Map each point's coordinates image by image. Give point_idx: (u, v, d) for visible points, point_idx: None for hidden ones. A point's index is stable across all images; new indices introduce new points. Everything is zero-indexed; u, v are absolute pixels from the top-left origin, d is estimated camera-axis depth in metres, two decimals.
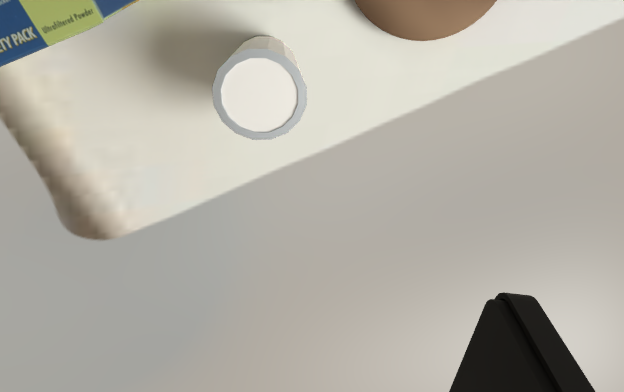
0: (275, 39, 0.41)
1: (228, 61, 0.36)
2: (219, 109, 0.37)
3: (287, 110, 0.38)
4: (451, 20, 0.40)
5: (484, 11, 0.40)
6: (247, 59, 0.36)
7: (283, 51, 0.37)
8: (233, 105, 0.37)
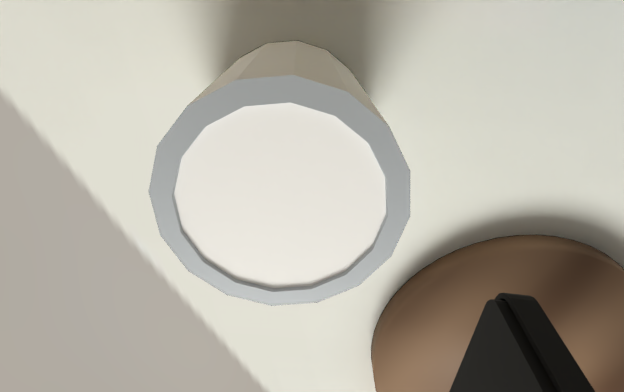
0: None
1: (375, 121, 0.12)
2: (225, 98, 0.12)
3: (250, 268, 0.14)
4: None
5: None
6: (382, 171, 0.13)
7: None
8: (244, 137, 0.13)
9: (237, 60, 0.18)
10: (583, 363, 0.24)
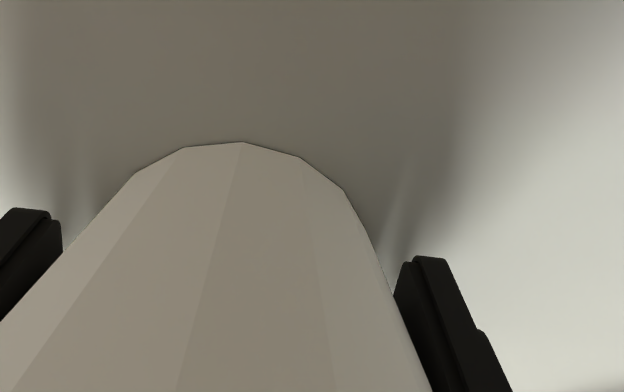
0: None
1: None
2: None
3: None
4: None
5: None
6: None
7: None
8: None
9: (124, 185, 0.09)
10: None
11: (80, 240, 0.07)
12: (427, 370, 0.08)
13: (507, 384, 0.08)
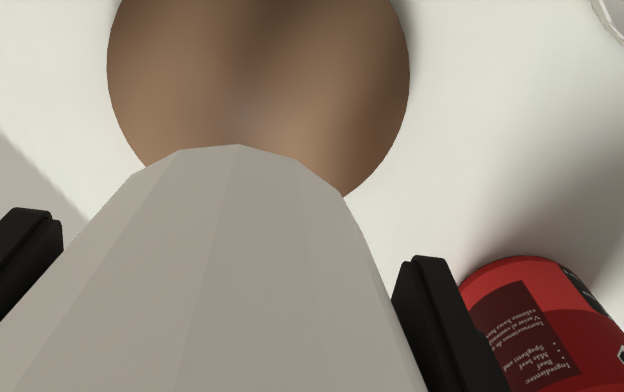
0: None
1: None
2: None
3: None
4: (159, 149, 0.23)
5: None
6: None
7: None
8: None
9: (120, 188, 0.09)
10: (335, 86, 0.22)
11: (76, 243, 0.07)
12: (426, 370, 0.08)
13: (506, 384, 0.08)
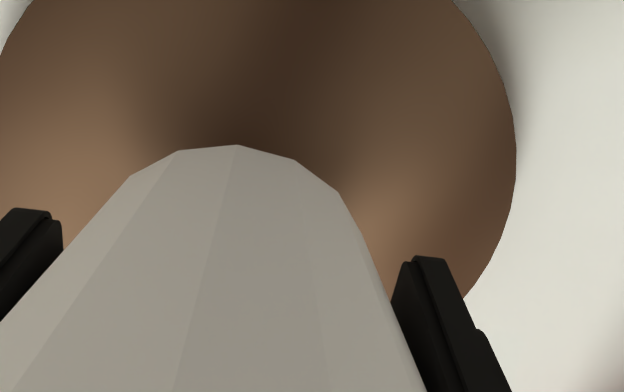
0: None
1: None
2: None
3: None
4: None
5: None
6: None
7: None
8: None
9: (119, 189, 0.09)
10: (384, 196, 0.13)
11: (75, 244, 0.07)
12: (426, 370, 0.08)
13: (506, 384, 0.08)
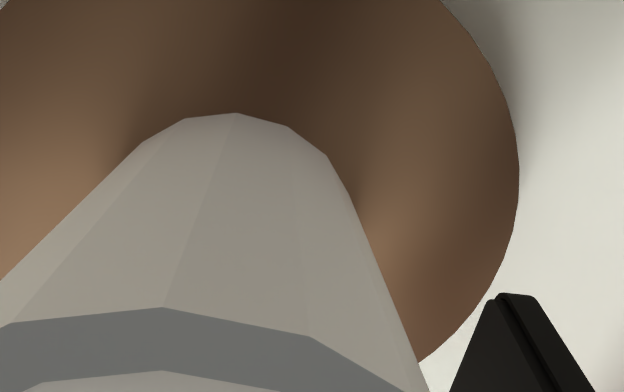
0: None
1: None
2: None
3: None
4: None
5: None
6: None
7: None
8: None
9: (133, 151, 0.10)
10: (379, 219, 0.12)
11: (97, 189, 0.08)
12: None
13: None
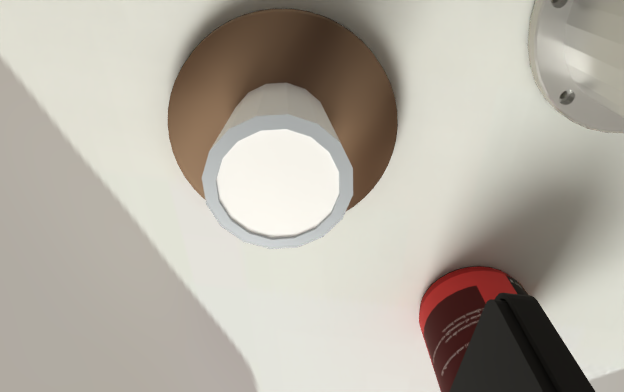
0: None
1: (332, 140, 0.22)
2: (250, 125, 0.22)
3: (258, 224, 0.24)
4: (201, 170, 0.30)
5: None
6: (336, 168, 0.23)
7: None
8: (259, 147, 0.22)
9: (247, 94, 0.28)
10: (340, 130, 0.29)
11: (245, 103, 0.26)
12: None
13: None
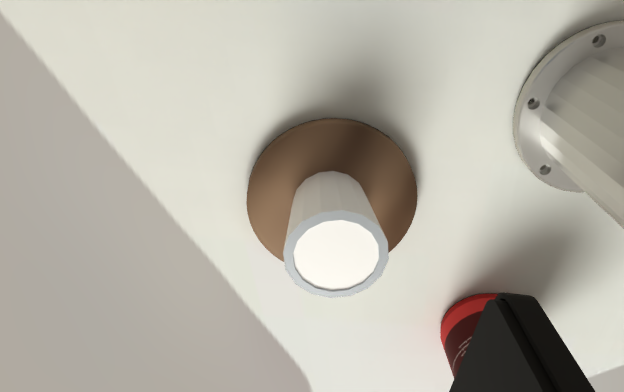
0: None
1: (373, 225, 0.32)
2: (316, 218, 0.32)
3: (322, 282, 0.34)
4: (271, 234, 0.40)
5: (283, 259, 0.42)
6: (376, 242, 0.33)
7: None
8: (322, 231, 0.32)
9: (305, 182, 0.38)
10: (374, 201, 0.39)
11: (306, 192, 0.36)
12: None
13: None
